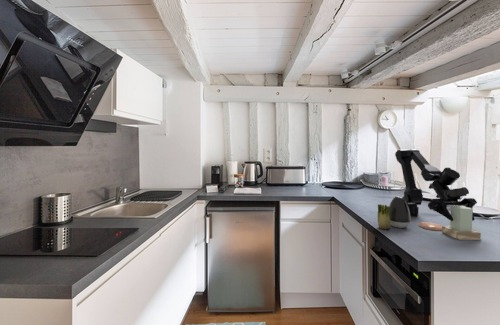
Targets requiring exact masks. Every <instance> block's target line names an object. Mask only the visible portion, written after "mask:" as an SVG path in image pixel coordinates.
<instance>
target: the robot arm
mask: <svg viewBox="0 0 500 325" xmlns="http://www.w3.org/2000/svg"><path fill="white" fill-rule="evenodd" d="M394 156H395V159H396V161H397V162H398V163H399V164H400V165H401V170H402V175H403V180H404V184H405V188H404V192H403V196H402V198H404V200H405V201H406V203H407V205H408V208H409V212H410V217H411V216H412V217H418V216H419V210H420V209H419V206H421V204H422V202H423V200H424V194H423V191H422V189H421V188H418V187H417V185H416V179H415V175H414V171H413V167H412V161H413V162H414V163H415V164H416V165H417V167H418V168H419V169H420V175H421V177H422V179H423V180H424V181H425V182H431V183H429V186H428V189H429V190H430V189H432V190H433V191H434V192H435V194H436V195H435V197H436V198H433V199H432V200H430V201H429V202H428V204H427V207H428V208H429V210H432V211H434V212H436V213H437V214H440V215H441V216H442V217H444V218H447V219H448V220H449V222H451V221H453V218H452V216H451V212H450V211H449V210H448V207H449V206H450V207H451V206H465V207H468V208H472V209H474V208H473V207H474V206H475V205H476V204H477V203H478V202H477V200H476V199H475V198H473V197H465V196H468V195H469V194H470V192H469V189H468V188H467V187H465V186H463V187H459V188H452V189H451V188H450V187H449V186H452V185H453V184H454V183H455V182H457V180H458V179H460V177H461V175H460V173H459V172H458V171H456V170H455V169H452V168H451V167H444V168H443V170H440V169H439V168H438V167H436V166H433V165H431V164H430V163H429V161H428V160H427V159H426V157H424V155H422V153H421V151H420V150H419V149H417V148H416V149H415V148H414V149H413V148H411V149H397V151H396V152H395V153H394ZM461 197H464V198H463V199H462V198H461ZM461 199H462V200H461ZM459 200H460V201H459ZM475 219H476V218H475V216H474V212H473V213H472V222H473V221H475Z"/></svg>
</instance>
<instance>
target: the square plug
mask: <svg viewBox="0 0 500 325" xmlns="http://www.w3.org/2000/svg"><path fill="white" fill-rule="evenodd" d="M472 213H473V214H474V208H468V207H465V206H450V214H451V216H452V218H453V221H449V222H450V224H449V226H450V228H452V229H454V230H457V231H459V232H472V230H473V221H472Z"/></svg>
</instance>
